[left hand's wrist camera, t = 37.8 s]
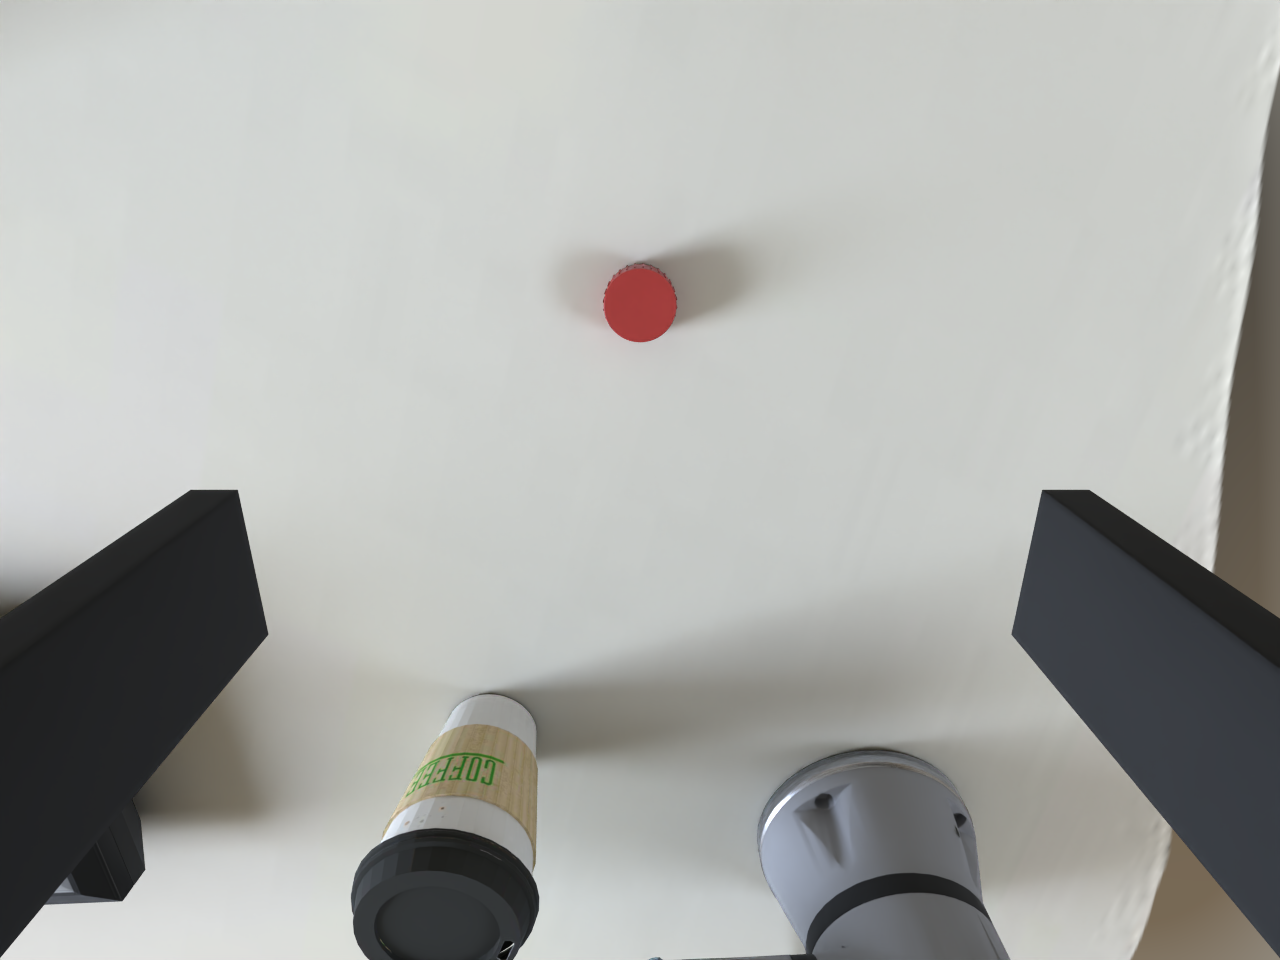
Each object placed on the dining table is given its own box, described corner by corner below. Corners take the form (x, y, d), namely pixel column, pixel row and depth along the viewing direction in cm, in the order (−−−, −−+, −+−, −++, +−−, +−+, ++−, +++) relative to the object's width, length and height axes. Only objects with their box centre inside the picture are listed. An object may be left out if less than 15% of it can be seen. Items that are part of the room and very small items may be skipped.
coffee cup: (443, 653, 49) (365, 836, 35) (583, 698, 51) (561, 892, 37) (404, 762, 53) (319, 970, 39) (536, 802, 54) (500, 1016, 40)
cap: (657, 346, 42) (658, 355, 40) (593, 318, 42) (591, 325, 39) (687, 281, 41) (689, 286, 39) (621, 251, 40) (620, 254, 38)
